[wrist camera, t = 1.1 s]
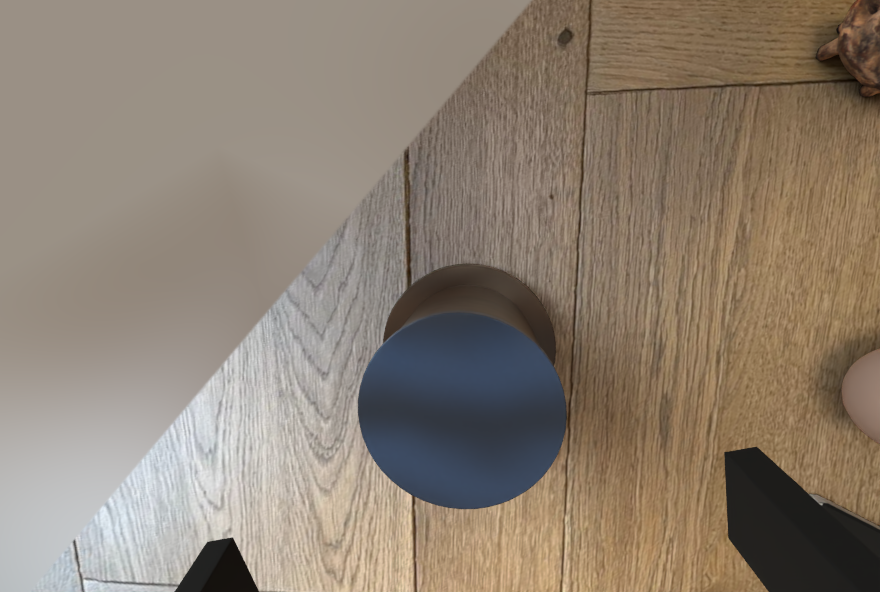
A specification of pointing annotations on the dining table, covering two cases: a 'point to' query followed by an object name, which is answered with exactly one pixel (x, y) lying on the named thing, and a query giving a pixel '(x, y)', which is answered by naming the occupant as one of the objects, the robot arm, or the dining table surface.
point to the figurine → (859, 45)
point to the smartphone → (854, 524)
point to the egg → (864, 394)
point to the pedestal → (464, 390)
